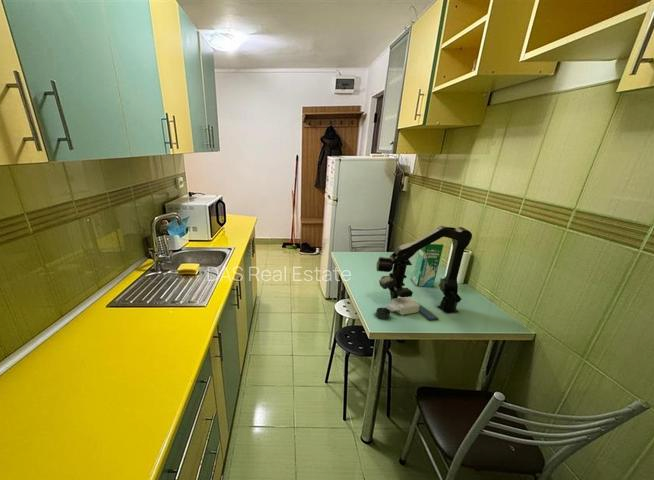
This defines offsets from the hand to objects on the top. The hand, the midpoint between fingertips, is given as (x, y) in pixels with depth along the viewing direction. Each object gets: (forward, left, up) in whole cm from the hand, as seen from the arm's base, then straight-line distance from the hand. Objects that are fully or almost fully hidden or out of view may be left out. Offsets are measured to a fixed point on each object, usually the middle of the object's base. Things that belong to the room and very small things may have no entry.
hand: (392, 301), depth 150 cm
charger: (0, +6, -2) cm, 7 cm away
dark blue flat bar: (-11, +10, -2) cm, 14 cm away
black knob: (+11, +10, -2) cm, 15 cm away
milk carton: (-32, -20, -2) cm, 38 cm away
